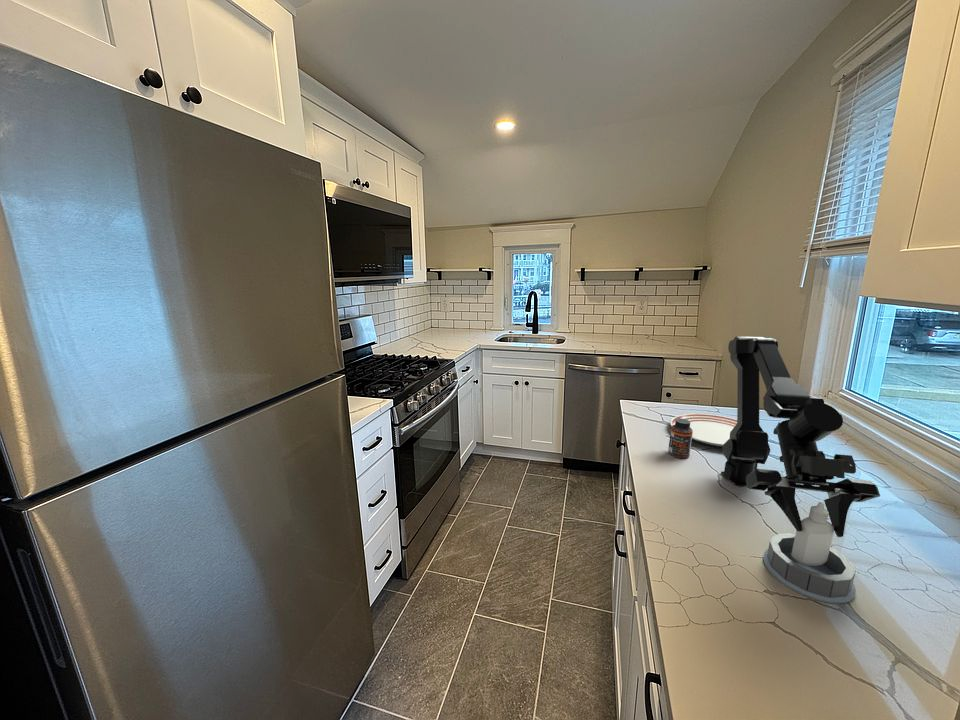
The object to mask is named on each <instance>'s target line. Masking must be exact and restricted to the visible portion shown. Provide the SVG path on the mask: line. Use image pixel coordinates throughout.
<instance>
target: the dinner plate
mask: <svg viewBox="0 0 960 720" xmlns="http://www.w3.org/2000/svg"><path fill="white" fill-rule="evenodd" d="M679 418H681V419H686V420H689V421H690V428H691V429H692V430H693V434H692V440H693V441H696V442H700V443H703V444H705V445H706V444H707V445H709V446H716V447H722V446H723V444H724V443H725V442H726V441H727V440H728V439H730V432H731V431H732V429H733V428H734V427H735V425H736V424H737V418H733V417H729V416H724V415H719V414H718V415H717V414H711V413H685V414H680V415H676V416H674V417H672V418H671V420H670V422H669V424H670V427H672V426H673V425H675V421H676V419H679Z"/></svg>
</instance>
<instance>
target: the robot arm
mask: <svg viewBox="0 0 960 720" xmlns="http://www.w3.org/2000/svg"><path fill="white" fill-rule="evenodd" d="M727 347H728V353H729V354H730V356H729V357H730V361H731V363H733V365H734V367H735V368H736V369H737V391H736V392H737V394H736V395H737V400H736V401H737V409H736V411H737V412H736V413H737V415H736V416H737V417H736V419H737V424H736V425H735V427H734V428H733V429H732V431H731V432H730V439H728V440H727V441H726V442H725V443H724V444H723V446H721V447H722V449H721V450H722V452H721V453H722V454H723V456H724V457H725V459H726V461H725V463H724V471H720V475H721V476H723V477H725V478H726V479H727V480H729V481H730V482H731V483H732V484H733V485H735V486H738V487H742V486H744V487H745V486H746V488H747V489H748V490H756V491H763V492H764V495H765V496H767V497H770V498H772V500H773V501H774V502H775V503H776V505H777V506H778V507H779V509H781V511H782V512H783V513H784V515H785V516H786V517H787V519H788V520H789V522H790V523H791V525H792V526H793V527H794V529H795V531H796V530H797V531H799V532H800V531H802V524H801V520H802V519H801V516H800V513H799V509H798V505H797V503H796V499H795V498H796V489H797V490H805V491H813V492H821V493H822V492H823V493H827V497H828V498H826V499H823V503H824V506H825V509H826V510H827V511H828V512H829V515H828V518H829V520H830V523H831V524H832V525H833V526H834V533H835V535H836V537H837V538H842V537H844V534H845V528H846V523H847V515H848V512H849V509H850V506H851V505H852V503H853V502H855V503H863V502H866V501H869V500H873V499H876V498H879V497H881V494H880V490H879V488H878V485H876V484H875V483H874V482H873V481H871V480H868V479H860V478H859V479H857V478H850V477H849V478H848V477H847V478H845V474H852V475H855V474H856V472H857V465H856V463H855V460H854V457H853V455H849V454H840V453H839V454H838V453H836V454H834V456H833V458H827V457H826V455H825V452H823V451H822V450H819V448H818V445H817V442H819V441H821V440H823V439H824V438H826V437H828V436H830V435H831V434H832V433H833V434H834V433H835V432H837V431H838V430H839V429H840V428H842V426H843V424H844V418H843V416H842V414H841V413H840V412H839V411H838V410H837V409H836V408H834V407H833V406H831V405H830V404H826V403H825V400H824V398H823V397H811V396H810V394H809V392H807V391H806V388H805V387H803V386H802V385H800V384H799V383H797V382H796V381H794V380H793V378H792V377H791V374H790V373H789V370H788V367H787V366H786V364H785V361H784V359H783V357H782V355H781V353H780V351H779V343H778V340H777V339H775V338H773V337H772V338H771V337H767V338H766V337H763V336H734V338H733V339H731V340H730V341H729V342H728V346H727ZM760 375H761V378H762V381H763V383H764V386H765V389H766V392H765V394H764V396H762V397H763V398H762V400H763V402H762V403H763V404H762V405H763V409H764V411H765V412H766V414H767V415H768V416H769V417H770V418H774V419H785V420H783V421H781V422H780V421H779V422H778V423H777V425H776V426H775V428H773V431H772V433H773V435H777V438H778V443H779V446H780V449H779V450H780V454H781V455H780V456H779V462H780V463H783V466H784V470H785V471H784V472H785V476H782V474H781V473H780V472H779V470H774V469H773V470H772V469H764V468H758V464H761V465H765V464H766V463H767V459H768V457H769V455H770V453H771V448H770V444H769V435H768V433H767V431H764V430H763V428H762V427H761V425H760ZM835 478H836V479H837V478H838V479H842V480H839V481H837V482H834V481H831V480H834V479H835ZM829 480H830V482H829Z"/></svg>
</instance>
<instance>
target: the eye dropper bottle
mask: <svg viewBox="0 0 960 720" xmlns="http://www.w3.org/2000/svg"><path fill="white" fill-rule="evenodd" d="M828 518H829V512H828V511H827V508H825V502H821V501H819V502H818V503H817V505H812V506H810V509H809V514H808V516H807V517H804V518H802V519H801V524H802V531H800V532H799V531H797V530H796V529H795V531H796V532H795V534H796V535H795V539H794V544H793V549H792V553H791V556H792V557H793V558H794V559H795V560H797V561H798V562H799V563H801V564H803V565H809V566H819V565H822V564H824V563H825V562H826V561H827V559H828V555H829V550H830V547H831V546H832V541H833V537H834V533H835V531H834V526H833V525H832V523H831V522H829V521H828Z"/></svg>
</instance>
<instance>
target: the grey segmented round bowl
mask: <svg viewBox="0 0 960 720" xmlns="http://www.w3.org/2000/svg"><path fill="white" fill-rule="evenodd" d="M795 535H796V533H776V534H774V536H772V538H770V539H769V544H768V548H767V549H766V550H765V551H764V553H763V563H764V566H765V568H766V569H767V570H768V572H769V573H770V574H771V575H772V576H773V577H774V578H776V580H778V581H779V582H780V583H782V584H783V585H785V586H786V587H787V588H789V589H791V590H792V591H795V592H796V593H798V594H800V595H802V596H804V597H807V598H809V599H813V600H816V601H819V602H824V603H828V604H836V605H838V604H839V605H840V604H841V605H842V604H847V603H850V602H851V601H853V599H855V597H856V596H855V595H856V591H857V590H856V589H857V588H856V586H855V584H854V580H855V577H856V570H855V568H854V566H853V564H852V563H851V562H850V560H849V559H848V558H847V557H846V556H844V555H843V554H842V553H841V552H839V551H837V549H835V548H834V547H831V546H830V550H829V555H828V559H827V561H826V562H825V563H824V564H822V565H819V566H809V565H803V564H801V563H799V562H798V561H797V560H795V559H794V558H793V557H792V556H791V553H792V549H793V544H794V539H795Z"/></svg>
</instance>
